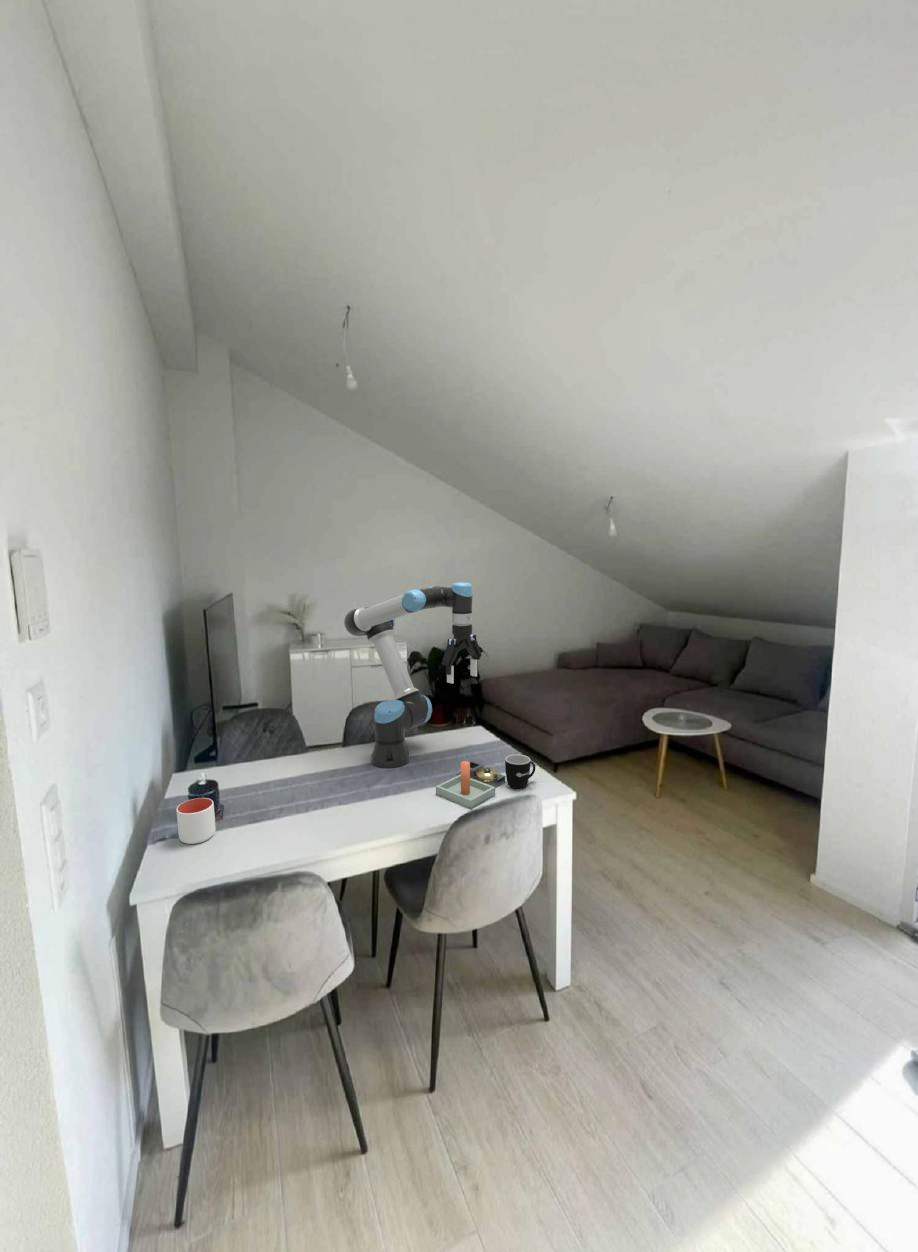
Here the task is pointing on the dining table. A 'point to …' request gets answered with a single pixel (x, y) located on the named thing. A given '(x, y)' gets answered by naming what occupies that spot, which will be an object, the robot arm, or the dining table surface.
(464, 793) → the pin
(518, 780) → the mug
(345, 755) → the dining table surface
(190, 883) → the dining table surface
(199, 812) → the cup
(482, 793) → the tray
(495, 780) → the pulley block
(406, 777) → the dining table surface
